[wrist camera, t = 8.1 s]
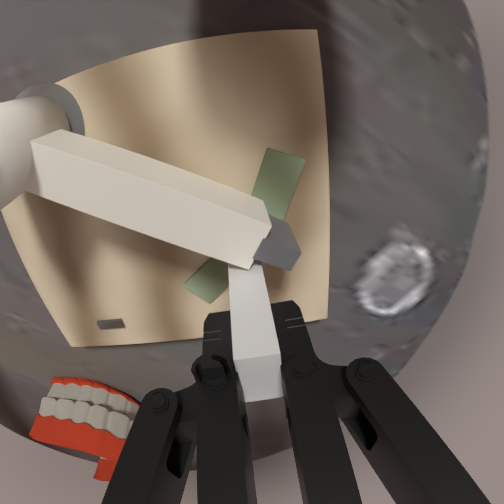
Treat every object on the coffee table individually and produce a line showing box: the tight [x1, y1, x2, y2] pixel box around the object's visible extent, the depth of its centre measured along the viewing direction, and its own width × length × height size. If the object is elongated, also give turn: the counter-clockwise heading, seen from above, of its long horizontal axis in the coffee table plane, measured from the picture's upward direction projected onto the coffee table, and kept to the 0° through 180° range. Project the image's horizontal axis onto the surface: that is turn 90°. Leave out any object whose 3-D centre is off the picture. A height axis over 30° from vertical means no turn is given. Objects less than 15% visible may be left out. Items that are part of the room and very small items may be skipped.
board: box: [1, 29, 330, 347], centre depth 16 cm, size 20×18×2 cm
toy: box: [29, 377, 140, 481], centre depth 24 cm, size 12×10×8 cm
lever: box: [0, 96, 302, 271], centre depth 11 cm, size 17×5×7 cm, turn 65°
